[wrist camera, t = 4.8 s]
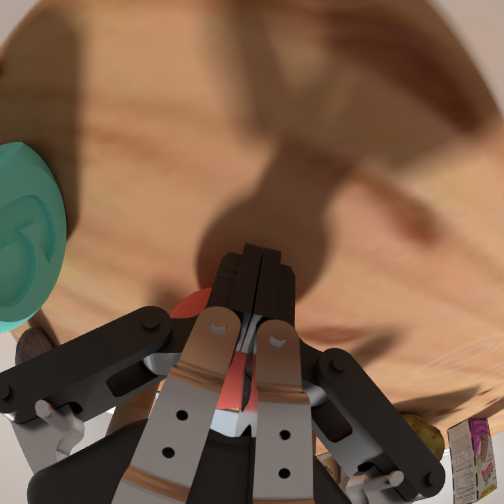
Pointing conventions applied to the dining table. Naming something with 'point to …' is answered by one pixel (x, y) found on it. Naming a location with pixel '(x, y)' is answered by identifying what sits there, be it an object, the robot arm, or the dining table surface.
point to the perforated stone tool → (31, 345)
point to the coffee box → (335, 471)
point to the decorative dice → (28, 234)
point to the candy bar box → (471, 461)
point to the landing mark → (223, 421)
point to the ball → (234, 374)
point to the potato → (427, 434)
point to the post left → (133, 409)
